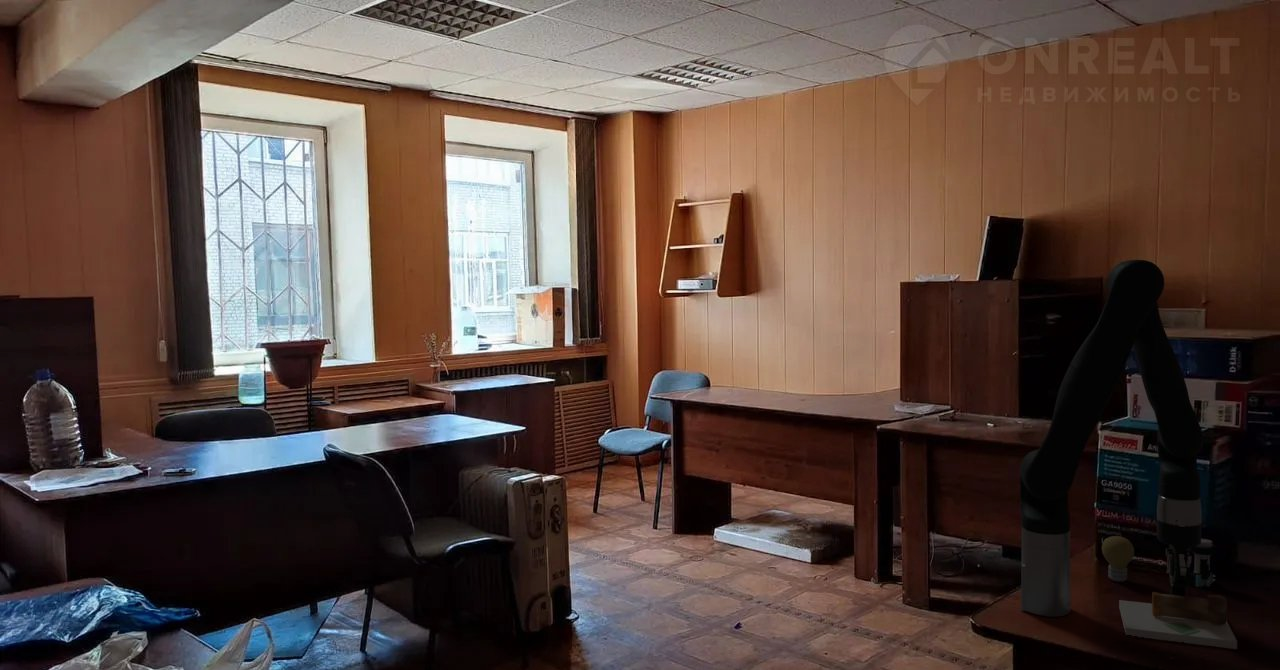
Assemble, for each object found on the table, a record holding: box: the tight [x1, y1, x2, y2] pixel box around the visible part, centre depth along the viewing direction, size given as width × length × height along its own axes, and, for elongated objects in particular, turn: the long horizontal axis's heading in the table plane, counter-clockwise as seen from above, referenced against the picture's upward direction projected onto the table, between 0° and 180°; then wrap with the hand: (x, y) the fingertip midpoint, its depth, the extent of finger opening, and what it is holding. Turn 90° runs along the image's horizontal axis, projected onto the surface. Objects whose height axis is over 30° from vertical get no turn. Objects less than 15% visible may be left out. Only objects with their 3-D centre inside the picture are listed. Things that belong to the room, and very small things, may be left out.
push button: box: [1188, 537, 1218, 588], centre depth 193 cm, size 7×5×10 cm
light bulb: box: [1101, 535, 1135, 583], centre depth 197 cm, size 6×6×10 cm
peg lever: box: [1151, 591, 1228, 624], centre depth 171 cm, size 12×3×5 cm, turn 66°
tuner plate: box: [1118, 599, 1238, 650], centre depth 172 cm, size 18×15×2 cm
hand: (1177, 603), depth 174 cm, fingers closed
